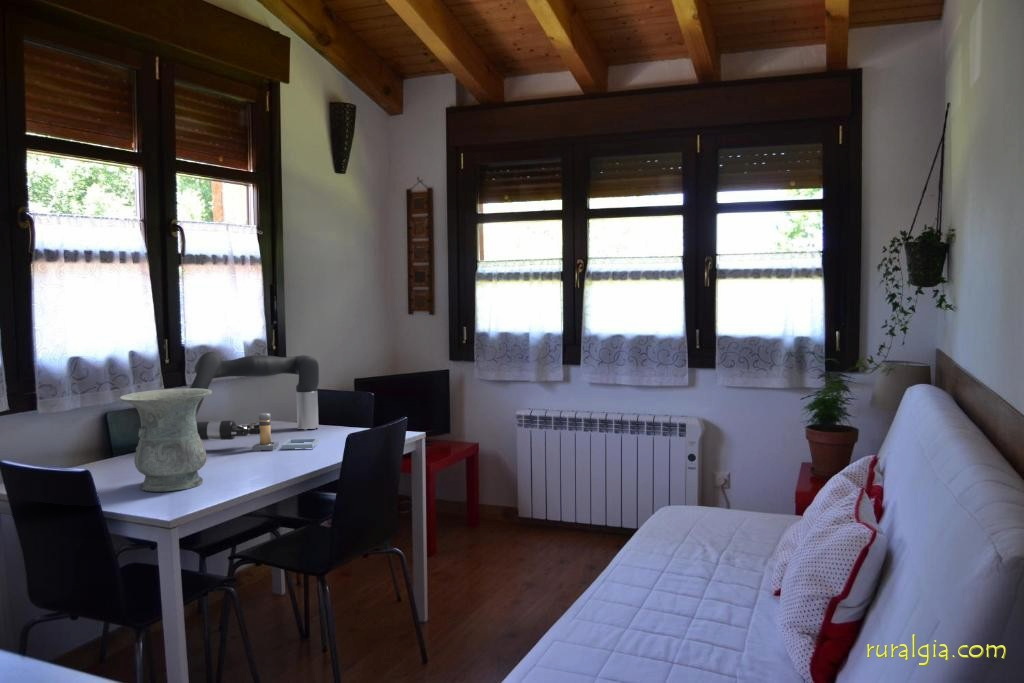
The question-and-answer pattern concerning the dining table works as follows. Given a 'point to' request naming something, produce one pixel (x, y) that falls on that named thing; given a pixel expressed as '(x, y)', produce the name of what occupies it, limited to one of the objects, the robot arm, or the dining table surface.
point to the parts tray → (292, 446)
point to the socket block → (265, 446)
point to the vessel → (169, 438)
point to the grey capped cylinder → (265, 428)
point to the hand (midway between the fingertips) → (263, 429)
